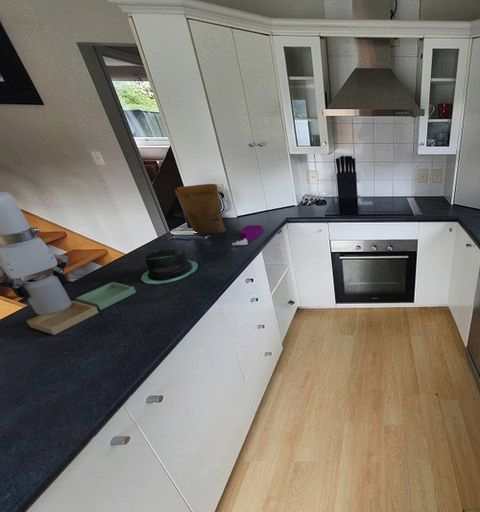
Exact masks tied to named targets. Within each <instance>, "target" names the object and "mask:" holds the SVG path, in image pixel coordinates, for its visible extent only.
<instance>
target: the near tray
mask: <svg viewBox="0 0 480 512" xmlns="http://www.w3.org/2000/svg"><path fill="white" fill-rule="evenodd" d="M97 314H100V312H99V309H97V308H96V307H94V306H91V305H87V304H84V303H80V302H77V300H71V305H70V306H69V307H68V308H67V309H66V310H64V311H62V312H60V313H57V314H53V315H39V314H38V315H37V316H34V317H32V318H30V319H27V320H26V323H27V324H28V326H29V327H30V328H33V329H35V330H38V331H41V332H44V333H47V334H50V335H52V336H55V335H57V334H59V333H62V332H63V331H66V330H67V329H69V328H71V327H73V326H76V325H78V324H79V323H81V322H84V321H85V320H88V319H89V318H91V317H93V316H95V315H97Z"/></svg>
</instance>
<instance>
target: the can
mask: <svg viewBox="0 0 480 512" xmlns="http://www.w3.org/2000/svg"><path fill="white" fill-rule="evenodd" d="M20 286H22V287H24V289H25V290H26V292H27V293H28V295H29V297H30V298H28V299H27V301H28V302H29V304H30V306H31V308H32V309H33V310H34V312H35V313H36V314H37V315H38V316H39V315H53V314H57V313H60V312H62V311H64V310H66V309H67V308H68V307H69V306H70V305H71V301H72V300H71V299H70V297H69V295H68V293H67V291H66V289H65V288H64V285H62V284H61V282H60V280H59V279H58V277H57V276H54V275H53V274H52V273H51V272H39V273H36V274H33V275H30V276H27V277H24V278H22V279H21V283H20Z"/></svg>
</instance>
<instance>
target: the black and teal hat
mask: <svg viewBox="0 0 480 512" xmlns="http://www.w3.org/2000/svg"><path fill="white" fill-rule="evenodd" d="M143 260H144V262H145V264H146V267H147V269H148V270H146V271H145V272H144V273H143V274H142V275H141V277H140V280H141V281H142V282H143V283H145V284H148V285H149V284H150V285H160V284H161V285H162V284H168V283H172V282H176V281H179V280H182V279H185V278H187V277H188V276H190V275H192V274H194V273H195V272H196V271H197V270H198V268H199V263H197V262H196V261H195V260H189V259H187V257H186V253H185V251H184V250H182V249H175V248H169V249H166V248H165V249H163V250H156V251H154V252H152V253H151V252H150V253H149V254H147V255H146V256H145V257H143Z"/></svg>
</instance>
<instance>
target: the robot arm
mask: <svg viewBox="0 0 480 512" xmlns="http://www.w3.org/2000/svg"><path fill="white" fill-rule="evenodd" d="M40 231H41V230H40V229H39V228H38V227H32V226H30V224H29V222H28V220H27V218H26V216H25V215H24V213H23V212H22V210H21V208H20V206H19V205H18V202H17V200H16V199H15V196H14V195H12V194H11V193H9V192H7V191H3V190H0V278H2V277H3V278H8V280H7V281H3V280H0V287H4V288H11V289H12V291H13V292H14V294H15V296H16V297H17V298H21V299H25V300H28V298H30V297H29V295H28V293H27V292H26V290H25V289H24V287H22V286H20V285H21V284H22V283H21V280H22V279H24V278H26V277H28V276H31V275H35V274H39V273H43V272H44V271H48V270H50V271H52V274H53V275H54V276H57V277H58V279H59V280H60V282H61V284H62V286H65V285H67V282H66V281H67V278H66V277H65V275H64V272H65V268H66V266H67V263H68V261H69V259H70V257H69V256H67V255H64V254H58V253H53V252H52V251H51V249H50V248H49V246H48V245H47V244H46V243H45V241H43V239H41V238H40V236H37V235H36V234H37V233H39V232H40ZM58 260H59V261H58Z"/></svg>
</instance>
